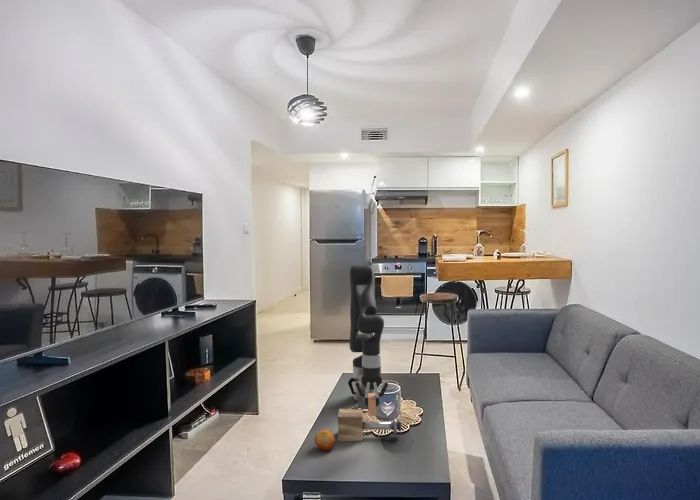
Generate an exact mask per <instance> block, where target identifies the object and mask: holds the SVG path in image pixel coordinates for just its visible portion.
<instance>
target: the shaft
mask: <svg viewBox="0 0 700 500" xmlns="http://www.w3.org/2000/svg"><path fill="white" fill-rule="evenodd" d="M362 427H363V431H364V430H366V431H367V430H368V431H369V430H381V431H382V430H383V431H385V430H386V431H387V430H389V431H393V434H397V433H398V432H402V421H401V420H400V419H398V420H397V418H392V421H363V422H362Z"/></svg>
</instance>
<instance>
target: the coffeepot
mask: <svg viewBox="0 0 700 500" xmlns="http://www.w3.org/2000/svg"><path fill="white" fill-rule="evenodd" d="M361 378H362V375H359V376H357V377H354V378H353V377H351V378H350V379H349V380H348V382H347V384H348V386H349V388H350V393H351V394H352V395H354V394H356V393H357V392H354V389H353V382H356V381H360V380H361ZM361 388H362V390H363V392H365V391H366V387H365V386H364V385H363V384H362V383H361ZM369 393H374V390H373V389H370V390H369ZM357 407H358V408H361V409H368V407H367V405H365V397H363V396H360V393H359V397H358V401H357V406H356V408H357Z"/></svg>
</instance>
